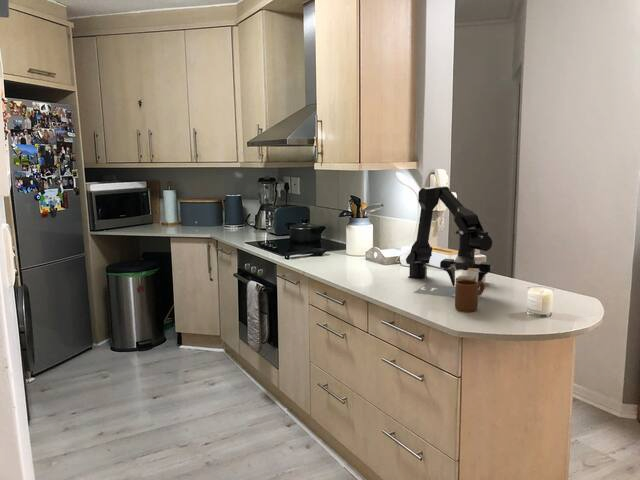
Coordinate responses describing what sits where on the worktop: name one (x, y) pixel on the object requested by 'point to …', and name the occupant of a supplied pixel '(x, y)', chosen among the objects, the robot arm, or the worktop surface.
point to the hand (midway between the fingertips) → (465, 287)
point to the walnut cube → (466, 278)
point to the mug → (467, 295)
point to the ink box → (473, 271)
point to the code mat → (437, 290)
